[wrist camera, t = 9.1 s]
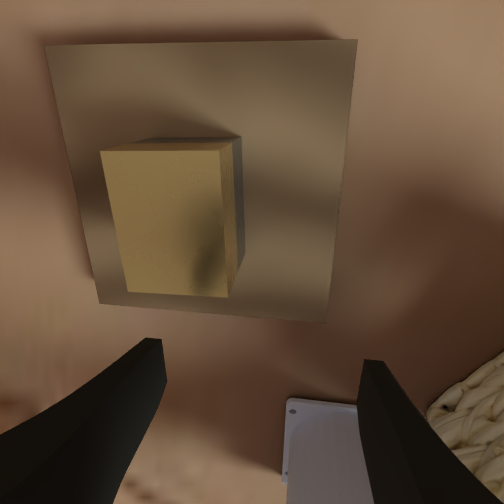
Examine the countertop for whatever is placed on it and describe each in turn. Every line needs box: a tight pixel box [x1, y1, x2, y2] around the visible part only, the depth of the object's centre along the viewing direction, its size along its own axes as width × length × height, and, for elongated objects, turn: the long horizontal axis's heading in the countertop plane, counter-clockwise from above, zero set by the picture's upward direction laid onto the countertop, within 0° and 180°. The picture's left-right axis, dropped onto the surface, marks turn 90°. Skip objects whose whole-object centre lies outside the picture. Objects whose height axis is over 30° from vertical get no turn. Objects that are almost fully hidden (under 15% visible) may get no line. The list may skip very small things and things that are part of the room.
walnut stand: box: [44, 39, 358, 323], centre depth 19 cm, size 14×14×2 cm
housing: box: [100, 137, 246, 298], centre depth 16 cm, size 4×6×5 cm
